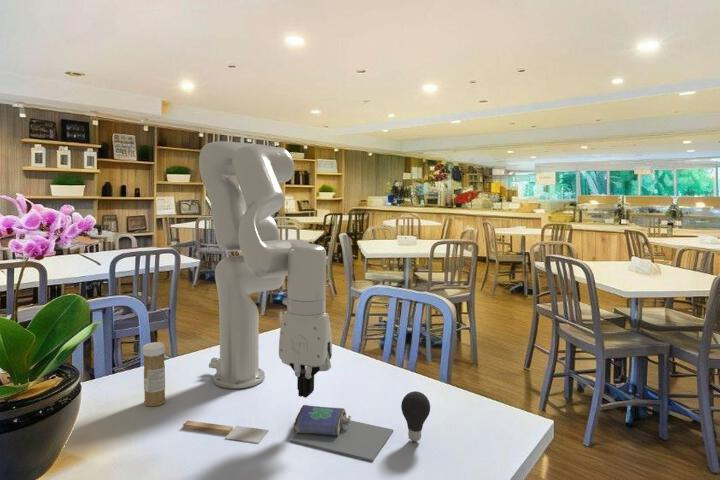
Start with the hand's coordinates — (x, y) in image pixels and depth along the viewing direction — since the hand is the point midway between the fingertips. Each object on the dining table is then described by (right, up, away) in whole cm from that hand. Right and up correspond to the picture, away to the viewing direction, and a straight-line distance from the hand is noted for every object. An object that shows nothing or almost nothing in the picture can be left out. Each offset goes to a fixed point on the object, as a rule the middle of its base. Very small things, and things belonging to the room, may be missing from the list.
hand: (305, 394), depth 98 cm
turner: (-15, -7, -2) cm, 17 cm away
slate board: (+8, -8, -2) cm, 11 cm away
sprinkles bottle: (-35, -5, +10) cm, 37 cm away
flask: (-2, -5, +1) cm, 6 cm away
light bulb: (+22, -8, -4) cm, 24 cm away
